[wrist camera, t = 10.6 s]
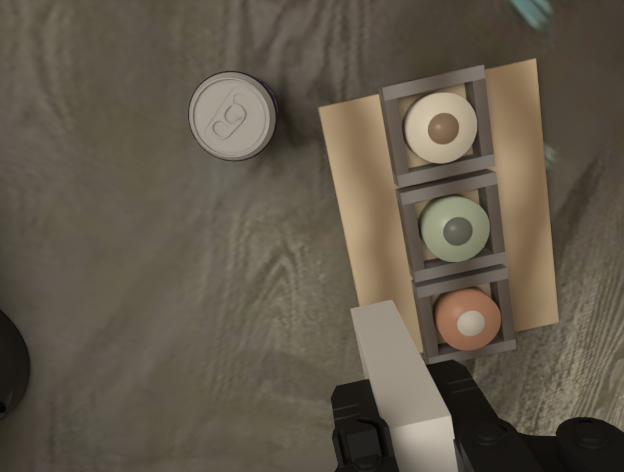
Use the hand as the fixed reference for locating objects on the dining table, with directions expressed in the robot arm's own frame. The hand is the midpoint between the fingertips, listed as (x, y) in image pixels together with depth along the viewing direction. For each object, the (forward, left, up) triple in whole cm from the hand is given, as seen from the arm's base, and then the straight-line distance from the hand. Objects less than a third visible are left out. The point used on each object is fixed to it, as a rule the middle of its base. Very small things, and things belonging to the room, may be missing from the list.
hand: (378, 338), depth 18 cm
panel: (+10, -5, -28) cm, 31 cm away
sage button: (+10, -5, -26) cm, 29 cm away
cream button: (+10, +4, -26) cm, 28 cm away
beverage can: (-5, +8, -29) cm, 30 cm away
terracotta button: (+10, -14, -26) cm, 31 cm away
